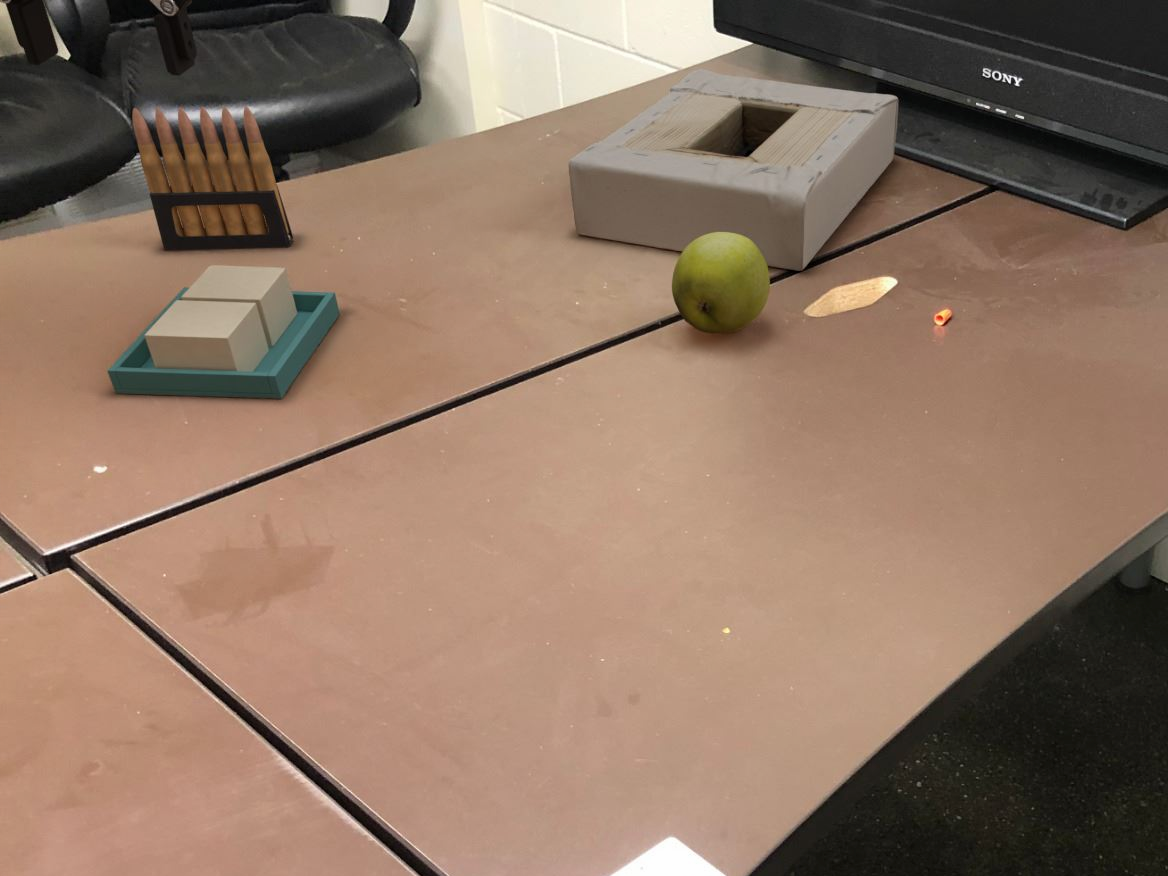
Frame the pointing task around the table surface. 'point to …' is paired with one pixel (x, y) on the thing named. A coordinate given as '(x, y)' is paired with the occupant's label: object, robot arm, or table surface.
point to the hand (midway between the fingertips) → (113, 64)
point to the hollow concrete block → (736, 166)
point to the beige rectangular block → (250, 293)
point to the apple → (720, 282)
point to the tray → (265, 381)
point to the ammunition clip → (212, 186)
